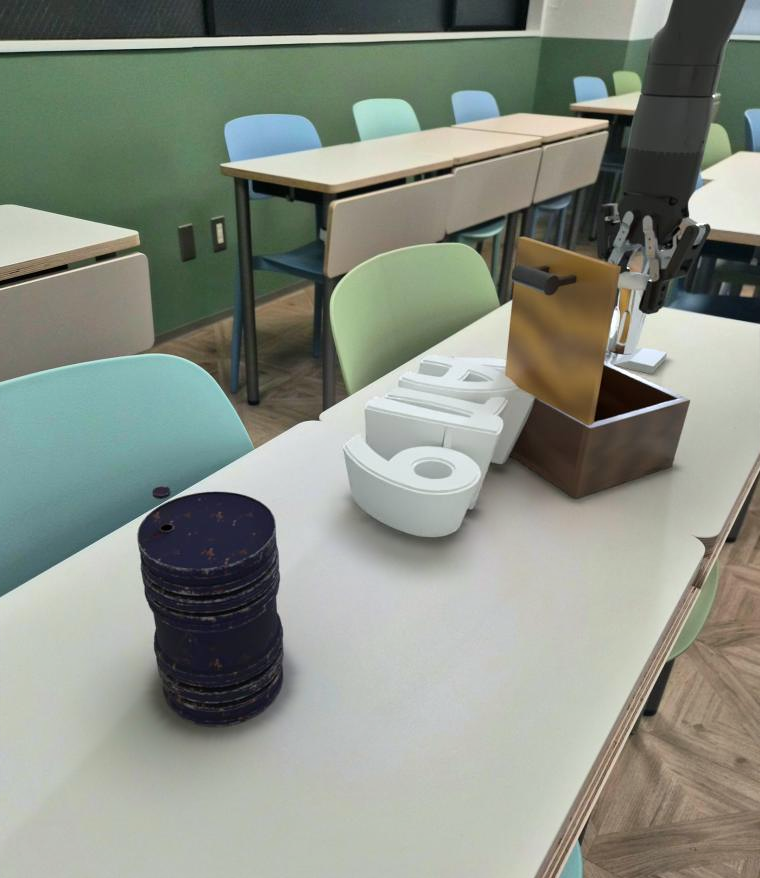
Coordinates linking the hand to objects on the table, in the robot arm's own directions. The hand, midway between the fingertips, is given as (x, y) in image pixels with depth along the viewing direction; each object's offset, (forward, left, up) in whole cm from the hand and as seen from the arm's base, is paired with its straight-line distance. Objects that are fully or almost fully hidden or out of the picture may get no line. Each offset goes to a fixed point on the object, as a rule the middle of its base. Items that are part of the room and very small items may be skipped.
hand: (631, 305), depth 84 cm
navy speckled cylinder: (+57, +15, -19) cm, 62 cm away
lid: (+12, +1, -1) cm, 12 cm away
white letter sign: (+22, -3, -18) cm, 29 cm away
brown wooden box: (+4, +1, -19) cm, 19 cm away
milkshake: (0, 0, -6) cm, 6 cm away
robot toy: (-26, -21, -19) cm, 39 cm away
